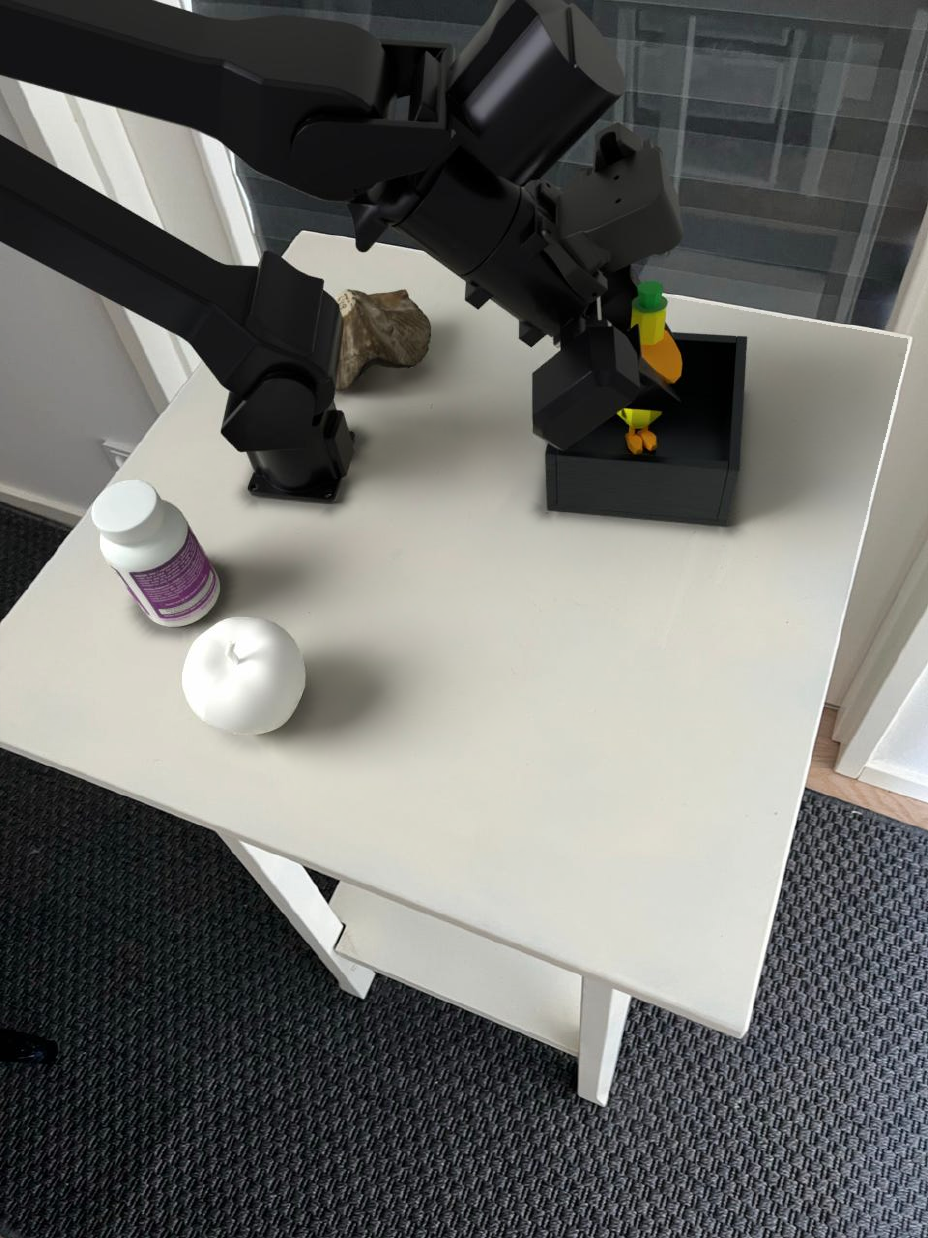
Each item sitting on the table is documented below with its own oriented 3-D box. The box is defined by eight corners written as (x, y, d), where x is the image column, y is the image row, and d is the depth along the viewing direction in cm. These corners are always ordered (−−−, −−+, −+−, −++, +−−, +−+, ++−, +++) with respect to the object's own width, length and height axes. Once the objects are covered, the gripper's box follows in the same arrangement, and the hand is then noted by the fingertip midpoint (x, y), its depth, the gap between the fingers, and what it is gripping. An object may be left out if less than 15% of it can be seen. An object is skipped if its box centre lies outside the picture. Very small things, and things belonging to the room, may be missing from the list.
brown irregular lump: (427, 288, 73) (308, 319, 75) (405, 257, 66) (275, 290, 68) (443, 382, 73) (324, 410, 75) (423, 360, 66) (292, 391, 68)
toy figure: (685, 470, 63) (709, 319, 53) (636, 484, 62) (651, 335, 53) (644, 407, 67) (660, 257, 57) (598, 420, 66) (605, 271, 57)
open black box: (546, 510, 63) (544, 454, 58) (570, 385, 69) (570, 325, 64) (726, 527, 61) (739, 470, 56) (735, 396, 67) (747, 335, 62)
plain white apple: (276, 775, 55) (235, 715, 48) (183, 726, 57) (132, 662, 50) (341, 681, 57) (311, 611, 51) (250, 638, 60) (210, 566, 53)
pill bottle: (234, 570, 63) (184, 476, 55) (202, 636, 60) (145, 547, 52) (164, 557, 64) (105, 463, 56) (129, 621, 61) (62, 532, 53)
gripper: (602, 239, 40) (807, 413, 48) (588, 21, 50) (760, 196, 58) (441, 382, 48) (643, 511, 56) (456, 167, 58) (626, 304, 66)
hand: (671, 373), depth 59 cm, fingers closed on toy figure, 5 cm apart
